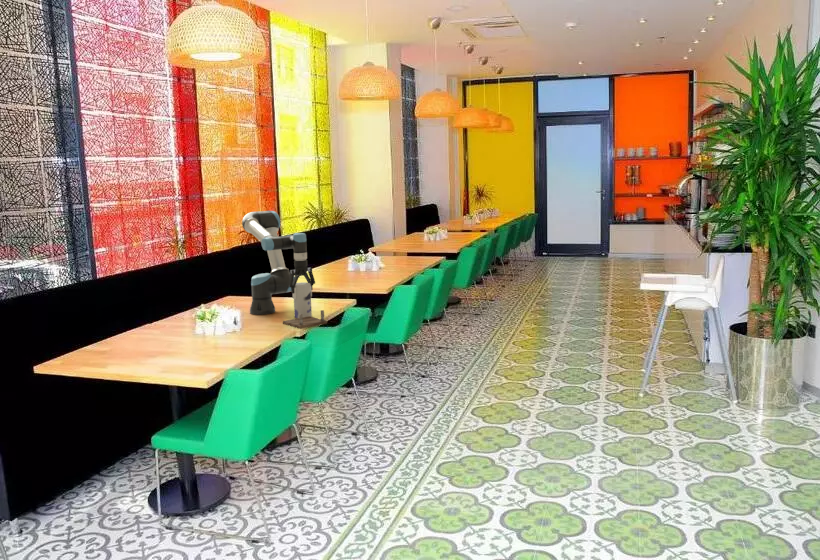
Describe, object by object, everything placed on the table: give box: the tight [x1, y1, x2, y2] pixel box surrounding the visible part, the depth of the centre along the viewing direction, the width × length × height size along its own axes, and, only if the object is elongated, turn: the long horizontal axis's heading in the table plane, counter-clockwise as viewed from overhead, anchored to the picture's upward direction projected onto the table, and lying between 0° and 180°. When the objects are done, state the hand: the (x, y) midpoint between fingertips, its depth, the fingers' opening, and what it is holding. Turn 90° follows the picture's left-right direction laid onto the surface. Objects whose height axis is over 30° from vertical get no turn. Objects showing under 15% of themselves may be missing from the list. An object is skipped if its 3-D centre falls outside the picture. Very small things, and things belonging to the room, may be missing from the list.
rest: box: [282, 310, 328, 329], centre depth 412 cm, size 18×18×8 cm
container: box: [293, 281, 313, 319], centre depth 429 cm, size 10×10×20 cm
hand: (302, 297), depth 429 cm, fingers closed on container, 10 cm apart
